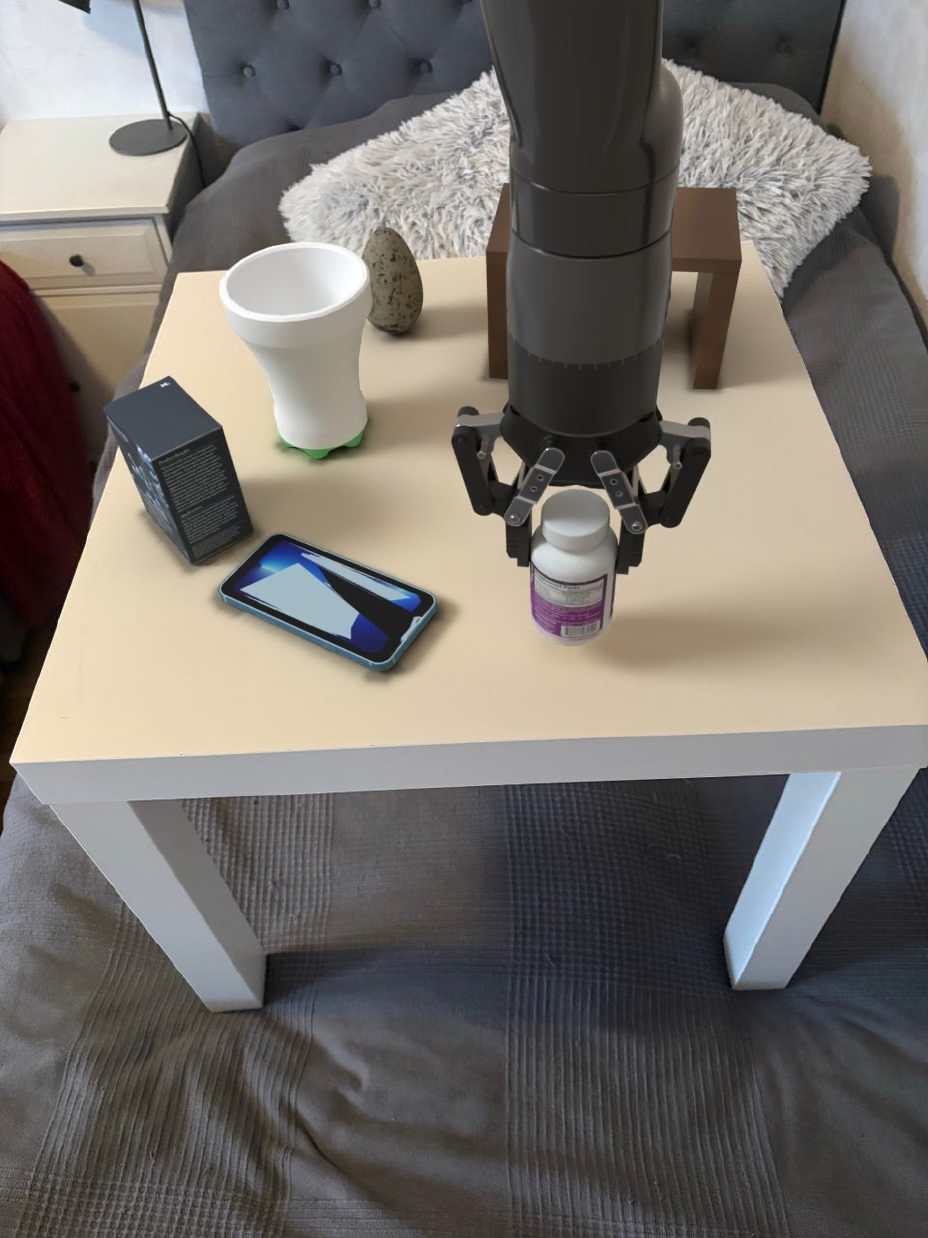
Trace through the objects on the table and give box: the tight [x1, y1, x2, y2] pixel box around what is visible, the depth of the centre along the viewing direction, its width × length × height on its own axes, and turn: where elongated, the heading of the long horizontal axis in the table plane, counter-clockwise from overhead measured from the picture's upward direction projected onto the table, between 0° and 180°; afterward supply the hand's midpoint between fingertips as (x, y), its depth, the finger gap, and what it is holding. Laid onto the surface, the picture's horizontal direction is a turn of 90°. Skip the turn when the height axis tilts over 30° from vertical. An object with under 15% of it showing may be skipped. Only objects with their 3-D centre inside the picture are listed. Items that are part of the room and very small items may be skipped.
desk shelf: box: [485, 182, 743, 390], centre depth 80 cm, size 20×12×12 cm, turn 82°
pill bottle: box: [529, 488, 619, 647], centre depth 57 cm, size 5×5×10 cm
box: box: [102, 375, 255, 565], centre depth 68 cm, size 8×6×11 cm
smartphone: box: [218, 532, 438, 672], centre depth 65 cm, size 7×1×15 cm
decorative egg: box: [361, 226, 424, 335], centre depth 84 cm, size 6×6×10 cm
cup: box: [218, 241, 373, 459], centre depth 73 cm, size 11×11×14 cm
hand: (573, 560), depth 56 cm, fingers closed on pill bottle, 5 cm apart
